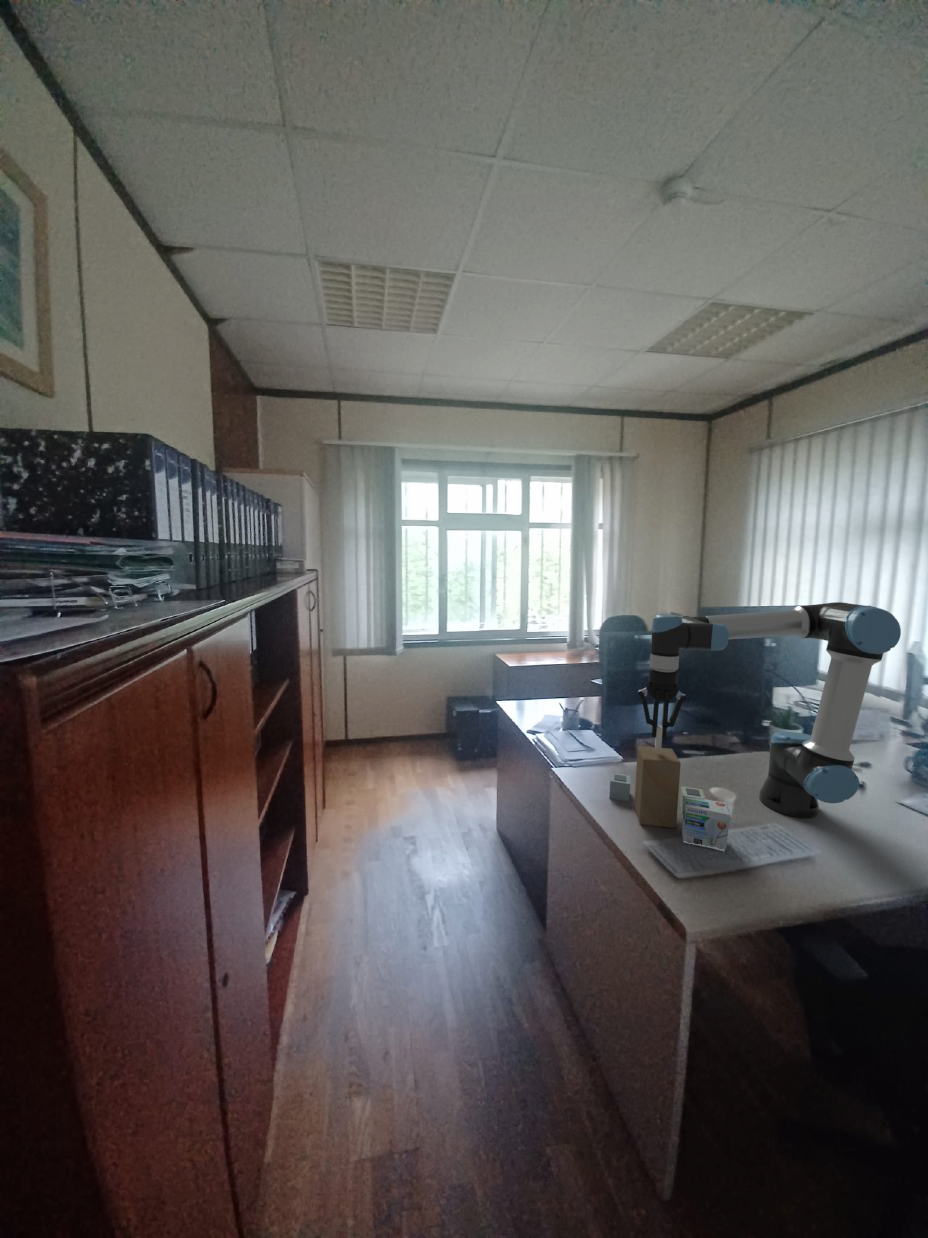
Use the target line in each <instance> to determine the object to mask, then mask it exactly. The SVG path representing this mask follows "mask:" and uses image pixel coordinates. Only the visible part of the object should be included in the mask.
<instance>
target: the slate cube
mask: <svg viewBox="0 0 928 1238" xmlns="http://www.w3.org/2000/svg"><path fill="white" fill-rule="evenodd" d="M630 792H631V775H629V774H628V775H627V774H622V773H614V772H610V782H609V799H611V800H616V801H621V802H622V801H623V802H630Z"/></svg>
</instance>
